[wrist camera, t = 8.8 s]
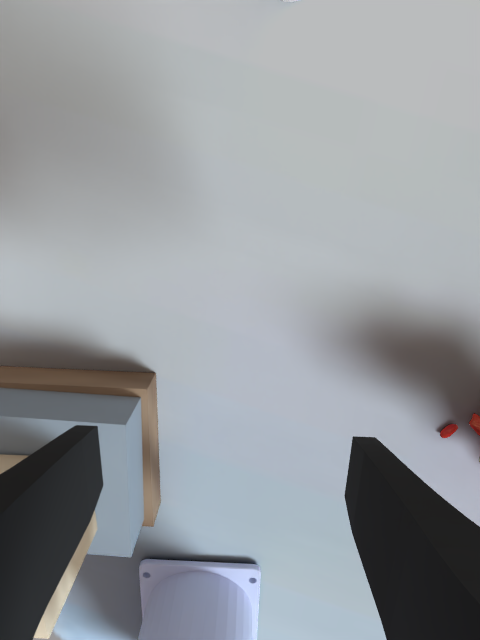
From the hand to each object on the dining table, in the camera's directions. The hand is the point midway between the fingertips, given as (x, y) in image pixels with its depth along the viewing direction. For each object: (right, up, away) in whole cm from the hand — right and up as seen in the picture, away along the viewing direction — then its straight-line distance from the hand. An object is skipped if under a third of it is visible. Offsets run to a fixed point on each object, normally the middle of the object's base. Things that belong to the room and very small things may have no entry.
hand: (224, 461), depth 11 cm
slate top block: (-9, -4, +10) cm, 14 cm away
